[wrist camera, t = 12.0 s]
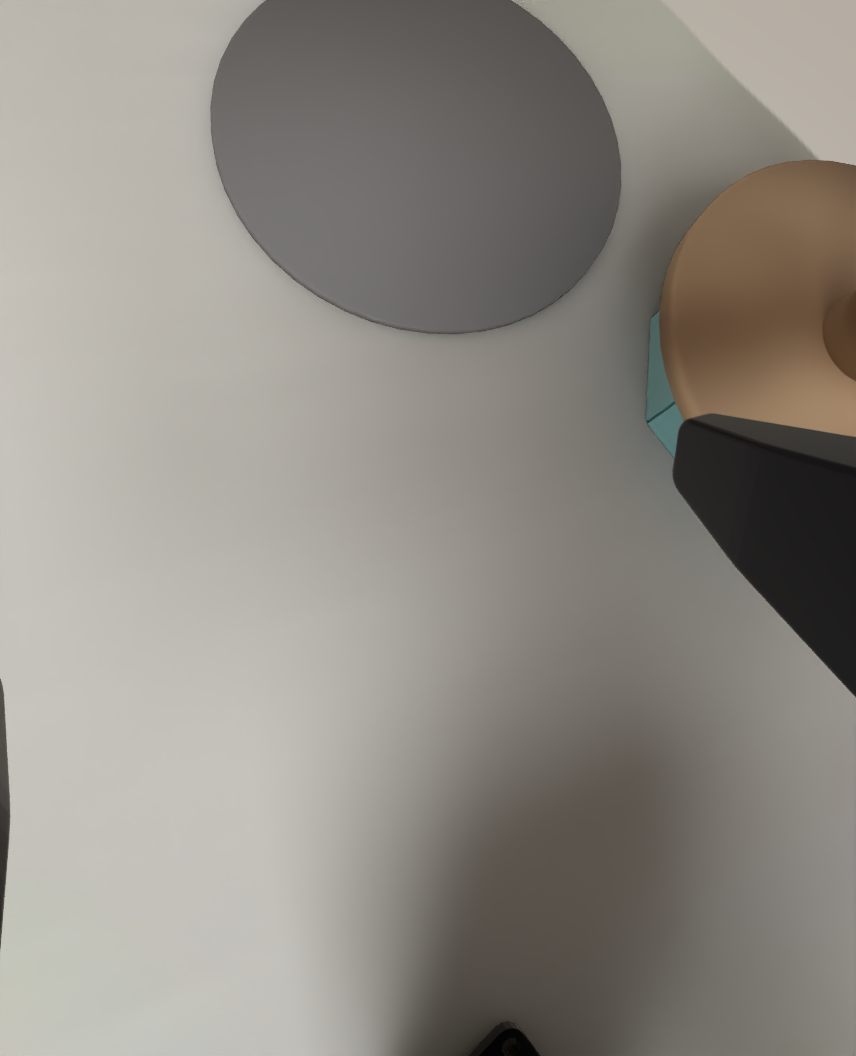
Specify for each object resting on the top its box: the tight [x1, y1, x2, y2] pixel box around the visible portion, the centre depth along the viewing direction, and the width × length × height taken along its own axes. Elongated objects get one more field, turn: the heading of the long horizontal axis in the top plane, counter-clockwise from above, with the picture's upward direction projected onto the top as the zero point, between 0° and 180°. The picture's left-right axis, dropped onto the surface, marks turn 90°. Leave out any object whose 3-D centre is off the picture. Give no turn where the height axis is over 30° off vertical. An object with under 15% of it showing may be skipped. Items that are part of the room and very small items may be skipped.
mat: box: [211, 0, 621, 334], centre depth 26 cm, size 15×15×1 cm
